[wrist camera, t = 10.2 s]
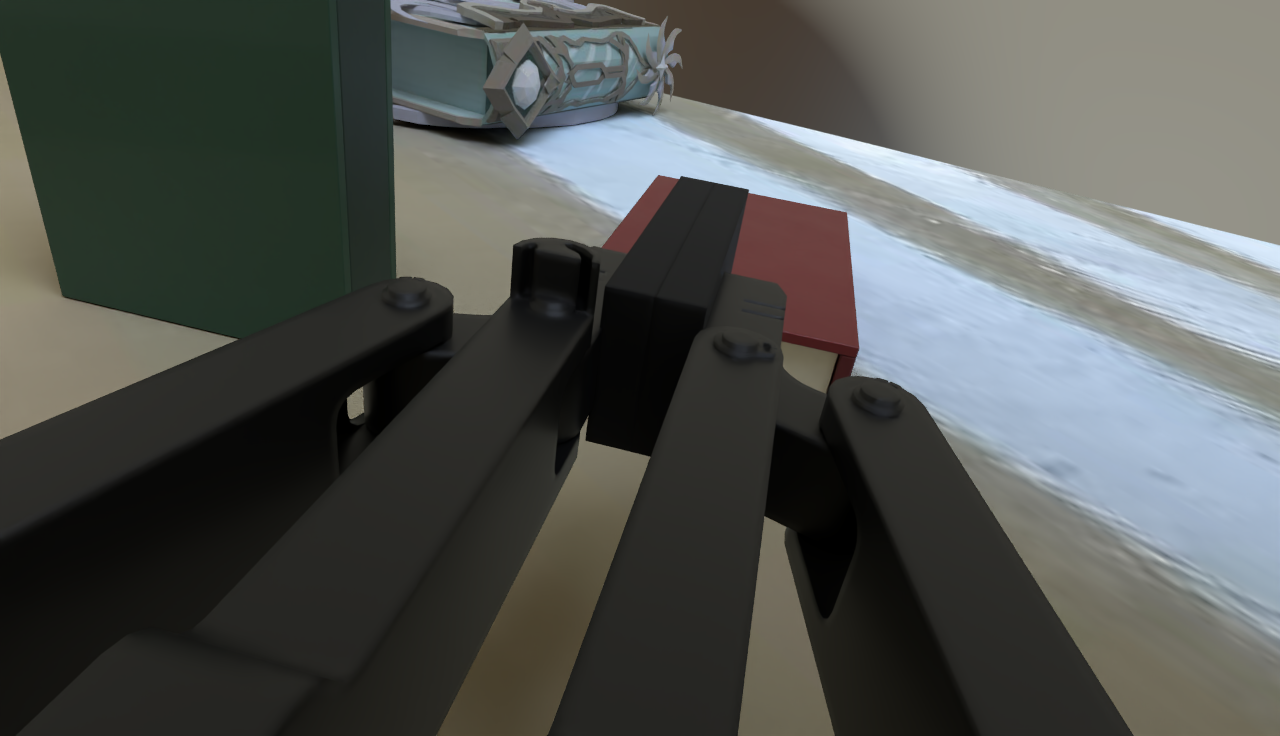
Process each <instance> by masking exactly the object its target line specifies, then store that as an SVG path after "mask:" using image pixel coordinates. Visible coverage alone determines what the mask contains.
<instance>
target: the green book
mask: <svg viewBox="0 0 1280 736" xmlns="http://www.w3.org/2000/svg"><path fill="white" fill-rule="evenodd" d="M0 54H1V58H2V62H3V66H4V70H5V74H6V78H7V81H8V85H9V89H10V93H11V97H12V101H13V105H14V109H15V113H16V117H17V120H18V124H19V128H20V132H21V136H22V140H23V144H24V148H25V152H26V155H27V159H28V163H29V167H30V171H31V175H32V179H33V183H34V187H35V191H36V194H37V198H38V202H39V206H40V210H41V214H42V218H43V222H44V226H45V230H46V233H47V237H48V241H49V245H50V249H51V253H52V257H53V261H54V265H55V269H56V272H57V276H58V280H59V284H60V288H61V292H62V295H63V296H65V297H69V298H73V299H77V300H81V301H86V302H90V303H94V304H98V305H102V306H107V307H111V308H115V309H119V310H123V311H128V312H132V313H136V314H140V315H144V316H149V317H153V318H157V319H161V320H165V321H170V322H174V323H178V324H182V325H186V326H191V327H195V328H199V329H203V330H207V331H212V332H216V333H220V334H224V335H228V336H233V337H237V338H244V337H246V336H248V335H251V334H253V333H256V332H258V331H260V330H263V329H265V328H267V327H270V326H272V325H275V324H277V323H279V322H282V321H284V320H287V319H289V318H291V317H294V316H296V315H298V314H301V313H303V312H306V311H308V310H310V309H313V308H315V307H317V306H320V305H322V304H325V303H327V302H329V301H332V300H334V299H337V298H339V297H341V296H344V295H346V294H348V293H351V292H353V291H356V290H358V289H360V288H363V287H365V286H367V285H370V284H372V283H376V282H380V281H383V280H387V279H396V242H395V193H394V145H393V96H392V48H391V0H0Z"/></svg>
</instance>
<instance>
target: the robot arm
mask: <svg viewBox="0 0 1280 736" xmlns="http://www.w3.org/2000/svg"><path fill="white" fill-rule="evenodd" d="M748 192H749V190H748V189H743V188H738V187H733V186H728V185H723V184H718V183H713V182H708V181H703V180H698V179H693V178H688V177H683V176H681V177H680V179H679V180H678V182H677V183H676V185H675V186H674V187H673V189H672V190H671V192H670V193H669V195H668V196H667V198H666V199H665V200H664V202H663V203H662V205H661V206H660V208H659V209H658V210H657V212H656V213H655V215H654V216H653V218H652V219H651V220H650V222H649V223H648V225H647V226H646V228H645V229H644V231H643V232H642V233H641V235H640V236H639V238H638V239H637V241H636V242H635V243H634V245H633V246H632V248H631V249H630V251H629V252H628V253H623V252H618V251H614V250H609V249H604V248H600V247H595V246H593V247H588V246H586V245H584V244H581V243H578V242H574V241H571V240H565V239H558V238H533V239H528V240H522V241H520V242H519V243H517V244H515V245H513V259H512V275H511V292H510V297H509V298H508V299H507V300H506V301H505V302H504V304H503V305H502V306H501V307H500V308H499V309H498V310H497V311H496V312H495V313H494V314H493V315H471V314H456V313H453V298H454V296H453V295H452V294H451V292H450V291H449V290H448V289H447V288H445V287H443V286H441V285H439V284H437V283H434V282H430V281H426V280H425V279H423V278H416V277H414V278H413V279H412V277H400V278H398V279H387V280H383V281H380V282H376V283H372V284H370V285H367V286H365V287H363V288H360V289H358V290H356V291H353V292H351V293H348V294H346V295H344V296H341V297H339V298H337V299H334V300H332V301H329V302H327V303H325V304H322V305H320V306H317V307H315V308H313V309H310V310H308V311H306V312H303V313H301V314H298V315H296V316H294V317H291V318H289V319H287V320H284V321H282V322H279V323H277V324H275V325H272V326H270V327H267V328H265V329H263V330H260V331H258V332H256V333H253V334H251V335H248V336H246V337H244V338H241V339H239V340H236V341H234V342H232V343H229V344H227V345H225V346H222V347H220V348H217V349H215V350H213V351H210V352H208V353H206V354H203V355H201V356H198V357H196V358H194V359H191V360H189V361H186V362H184V363H182V364H179V365H177V366H175V367H172V368H170V369H167V370H165V371H163V372H160V373H158V374H156V375H153V376H151V377H148V378H146V379H144V380H141V381H139V382H136V383H134V384H132V385H129V386H127V387H125V388H122V389H120V390H117V391H115V392H113V393H110V394H108V395H105V396H103V397H101V398H98V399H96V400H94V401H91V402H89V403H86V404H84V405H82V406H79V407H77V408H75V409H72V410H70V411H67V412H65V413H63V414H60V415H58V416H55V417H53V418H51V419H48V420H46V421H44V422H41V423H39V424H36V425H34V426H32V427H29V428H27V429H25V430H22V431H20V432H17V433H15V434H13V435H10V436H8V437H5V438H3V439H1V440H0V736H436V735H437V733H438V731H439V729H440V727H441V725H442V723H443V721H444V719H445V717H446V715H447V713H448V711H449V709H450V707H451V705H452V703H453V701H454V699H455V697H456V695H457V693H458V691H459V689H460V687H461V685H462V683H463V681H464V679H465V677H466V676H467V674H468V672H469V670H470V668H471V666H472V664H473V662H474V660H475V658H476V656H477V654H478V652H479V650H480V648H481V646H482V644H483V642H484V640H485V638H486V636H487V634H488V632H489V630H490V628H491V626H492V624H493V622H494V620H495V618H496V616H497V614H498V612H499V610H500V608H501V606H502V604H503V602H504V600H505V598H506V596H507V594H508V592H509V591H510V589H511V587H512V585H513V583H514V581H515V579H516V577H517V575H518V573H519V571H520V569H521V567H522V565H523V563H524V561H525V559H526V557H527V555H528V553H529V551H530V549H531V547H532V545H533V543H534V541H535V539H536V537H537V535H538V533H539V531H540V529H541V527H542V525H543V523H544V521H545V519H546V517H547V515H548V513H549V511H550V509H551V507H552V506H553V504H554V502H555V500H556V498H557V496H558V494H559V492H560V490H561V488H562V486H563V484H564V482H565V480H566V478H567V476H568V474H569V472H570V470H571V468H572V466H573V464H574V462H575V460H576V458H577V453H578V446H579V438H580V430H581V428H582V426H583V425H584V423H585V421H586V419H587V417H588V424H587V432H586V440H585V441H589V442H593V443H597V444H601V445H606V446H610V447H614V448H618V449H622V450H626V451H630V452H634V453H638V454H642V455H646V456H650V460H649V463H648V465H647V468H646V471H645V474H644V476H643V479H642V482H641V484H640V487H639V490H638V493H637V495H636V498H635V501H634V504H633V506H632V509H631V512H630V514H629V517H628V520H627V523H626V525H625V528H624V531H623V533H622V536H621V539H620V542H619V544H618V547H617V550H616V552H615V555H614V558H613V561H612V563H611V566H610V569H609V572H608V574H607V577H606V580H605V582H604V585H603V588H602V591H601V593H600V596H599V599H598V601H597V604H596V607H595V610H594V612H593V615H592V618H591V620H590V623H589V626H588V629H587V631H586V634H585V637H584V640H583V642H582V645H581V648H580V650H579V653H578V656H577V659H576V661H575V664H574V667H573V669H572V672H571V675H570V678H569V680H568V683H567V686H566V689H565V691H564V694H563V697H562V699H561V702H560V705H559V708H558V710H557V713H556V716H555V718H554V721H553V723H552V726H551V728H550V731H549V733H548V735H547V736H738V728H739V719H740V711H741V703H742V695H743V687H744V678H745V670H746V662H747V654H748V646H749V638H750V629H751V621H752V613H753V605H754V597H755V589H756V580H757V572H758V564H759V556H760V548H761V539H762V531H763V523H764V516H766V517H768V518H770V519H772V520H774V521H776V522H778V523H780V524H782V525H784V526H786V531H785V547H786V551H787V555H788V559H789V563H790V566H791V570H792V574H793V578H794V582H795V585H796V589H797V593H798V597H799V601H800V604H801V608H802V612H803V616H804V620H805V623H806V627H807V631H808V635H809V639H810V642H811V646H812V650H813V654H814V658H815V661H816V665H817V669H818V673H819V677H820V680H821V684H822V688H823V692H824V695H825V699H826V703H827V707H828V711H829V714H830V718H831V722H832V726H833V730H834V733H835V736H1134V735H1133V734H1132V732H1131V731H1130V729H1129V728H1128V726H1127V724H1126V723H1125V721H1124V720H1123V718H1122V717H1121V715H1120V713H1119V712H1118V710H1117V709H1116V707H1115V706H1114V704H1113V702H1112V701H1111V699H1110V698H1109V696H1108V694H1107V693H1106V691H1105V690H1104V688H1103V687H1102V685H1101V683H1100V682H1099V680H1098V679H1097V677H1096V676H1095V674H1094V672H1093V671H1092V669H1091V668H1090V666H1089V665H1088V663H1087V661H1086V660H1085V658H1084V657H1083V655H1082V653H1081V652H1080V650H1079V649H1078V647H1077V646H1076V644H1075V642H1074V641H1073V639H1072V638H1071V636H1070V635H1069V633H1068V631H1067V630H1066V628H1065V627H1064V625H1063V624H1062V622H1061V620H1060V619H1059V617H1058V616H1057V614H1056V612H1055V611H1054V609H1053V608H1052V606H1051V605H1050V603H1049V601H1048V600H1047V598H1046V597H1045V595H1044V594H1043V592H1042V590H1041V589H1040V587H1039V586H1038V584H1037V583H1036V581H1035V579H1034V578H1033V576H1032V575H1031V573H1030V571H1029V570H1028V568H1027V567H1026V565H1025V564H1024V562H1023V560H1022V559H1021V557H1020V556H1019V554H1018V553H1017V551H1016V549H1015V548H1014V546H1013V545H1012V543H1011V542H1010V540H1009V538H1008V537H1007V535H1006V534H1005V532H1004V530H1003V529H1002V527H1001V526H1000V524H999V523H998V521H997V519H996V518H995V516H994V515H993V513H992V512H991V510H990V508H989V507H988V505H987V504H986V502H985V500H984V499H983V497H982V496H981V494H980V493H979V491H978V489H977V488H976V486H975V485H974V483H973V482H972V480H971V478H970V477H969V475H968V474H967V472H966V471H965V469H964V467H963V466H962V464H961V463H960V461H959V459H958V458H957V456H956V455H955V453H954V452H953V450H952V448H951V447H950V445H949V444H948V442H947V441H946V439H945V437H944V436H943V434H942V433H941V431H940V430H939V428H938V426H937V425H936V423H935V422H934V420H933V418H932V417H931V415H930V414H929V412H928V411H927V409H926V407H925V406H924V405H923V404H922V403H921V402H920V401H919V400H918V399H917V398H916V397H915V396H914V395H912V394H911V393H909V392H907V391H906V390H904V389H903V388H901V386H899V385H897V384H895V383H892V382H890V383H888V381H887V380H884V379H880V378H875V379H874V378H869V377H862V376H848V377H844V378H841V379H837V380H835V381H834V382H833V383H832V385H831V386H830V387H829V390H828V393H827V394H826V393H823V392H821V391H818V390H816V389H813V388H811V387H809V386H807V385H805V384H803V383H801V382H800V381H798V380H797V379H795V378H794V377H792V376H791V375H790V374H789V373H788V372H787V371H786V370H785V369H784V367H783V360H784V356H783V353H782V349H781V341H782V333H783V325H784V317H785V309H786V302H787V295H786V294H785V293H784V291H783V290H782V289H781V287H780V286H779V285H778V283H774V282H769V281H765V280H760V279H755V278H750V277H746V276H741V275H736V274H732V273H731V272H732V267H733V262H734V258H735V253H736V248H737V244H738V239H739V234H740V230H741V225H742V220H743V215H744V211H745V206H746V201H747V197H748ZM361 387H363V397H364V413H362V414H361V415H359V416H357V417H356V418H353V419H349V416H348V411H347V398H348V397H349V396H350V395H351V394H352V393H353V392H354V391H356V390H357V389H359V388H361ZM588 415H589V416H588Z"/></svg>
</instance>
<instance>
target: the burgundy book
mask: <svg viewBox="0 0 1280 736" xmlns="http://www.w3.org/2000/svg"><path fill="white" fill-rule="evenodd" d="M678 180H679V179H675V178H670V177H665V176H660V175H658V176H657V178H656V179H655V180H654V181H653V183H652V184H651V185H650V186H649V188H648V189H647V190H646V192H645V193H644V194H643V195H642V197H641V198H640V199H639V200H638V202H637V203H636V204H635V206H634V207H633V208H632V209H631V211H630V212H629V213H628V215H627V216H626V217H625V218H624V220H623V221H622V222H621V223H620V225H619V226H618V227H617V229H616V230H615V231H614V232H613V234H612V235H611V236H610V238H609V239H608V240H607V241H606V243H605V244H604V245H603V246H602V248H604V249H609V250H614V251H618V252H623V253H628V252H629V251H630V249H631V248H632V246H633V245H634V243H635V242H636V241H637V239H638V238H639V236H640V235H641V233H642V232H643V231H644V229H645V228H646V226H647V225H648V223H649V222H650V220H651V219H652V218H653V216H654V215H655V213H656V212H657V210H658V209H659V208H660V206H661V205H662V203H663V202H664V200H665V199H666V198H667V196H668V195H669V193H670V192H671V190H672V189H673V187H674V186H675V185H676V183H677V182H678ZM731 273H732V274H736V275H741V276H746V277H750V278H755V279H760V280H765V281H769V282H774V283H778V285H779V286H780V287H781V289H782V290H783V291H784V293H785V294H786V295H787V302H786V309H785V317H784V325H783V333H782V341H781V349H782V353H783V356H784V360H783V367H784V369H785V370H786V371H787V372H788V373H789V374H790V375H791V376H792V377H794V378H795V379H797V380H798V381H800V382H801V383H803V384H805V385H807V386H809V387H811V388H813V389H816V390H818V391H821V392H823V393H826V394H827V393H828V390H829V387H830V386H831V385H832V383H833V382H834V381H835V380H837V379H841V378H844V377H848V376H850V375H851V372H852V369H853V366H854V363H855V360H856V357H857V354H858V351H859V342H858V331H857V320H856V309H855V297H854V286H853V275H852V264H851V253H850V242H849V230H848V219H847V213H846V212H841V211H836V210H831V209H826V208H821V207H816V206H811V205H806V204H801V203H796V202H791V201H786V200H781V199H776V198H771V197H766V196H761V195H756V194H751V193H748V197H747V201H746V206H745V211H744V215H743V220H742V225H741V230H740V234H739V239H738V244H737V248H736V253H735V258H734V262H733V267H732V272H731Z"/></svg>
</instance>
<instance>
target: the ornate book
mask: <svg viewBox="0 0 1280 736" xmlns="http://www.w3.org/2000/svg"><path fill="white" fill-rule="evenodd" d="M572 2H574V0H391V48H392V96H393V104H396V105H393V119H398V120H402V121H407V122H412V123H417V124H425V125H434V126H445V127H459V128H500V127H505V128H508V129H509V130H510V132H511V133H512V134H513V135H514V136H515V138H516V139H517V140H518V139H519V138H520V136H521V135H522V134H523V133H524V132H525V131H526V130H527V129H528V128H537V127H551V126H565V125H575V124H581V123H586V122H591V121H596V120H601V119H604V118H607V117H609V116H612V115H614V114H615V113H616V111H617V109H618V102H623V101H629V100H635V99H641V98H646V97H647V98H646V99H645V100H644V101H642V102H641V103H639V104H640V105H646V104H648V103H649V101H650V100H651V98H652V97H653V95H654V93H655V92H656V90H657V89H658V90H657V93H658V104H657V107H656V109H655V112H654V114H655V113H656V112H657V110H658V109H659V107H660V105H661V102H662V97H663V92H664V76H665V77H666V78H665V79H666V84H669V85H670V88H671V89H670V90H671V95H670V101H671V97H672V93H673V89H674V81H673V76H672V73H671V72H670V70H669V69H668V68H667V67H668V66H667V64H669V65H670V66H671V67H674V66H675V65H676V63H677V62H679V64H680V66H681V67H682V61H681V57H680V55H679V54H676V53H674V54H671V55H669V56H668V53H669V52H670V51H671V50H673V44H674V39H675V37H676V35H677V34H678V33H679V32H681V29H678V28H676V29H674V30H673V31H672V33H671V34H670V36H669V38H668V39H667V42H666V43H665V38H664V28H665V24H666V21H667V18H668V17H667V18H666V19H665V20H664V22H663V23H662V25H661V27H659V25H657V24H654V23H650V22H646V21H645V18H642V17H639V16H635V15H632V14H629V13H626V12H624V11H621V10H618V9H616V8H612V7H609V6H606V5H601V4H593V3H589V4H588V5H587V7H586V6H583V5H580V4H577V3H572ZM654 114H653V115H654Z"/></svg>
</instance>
